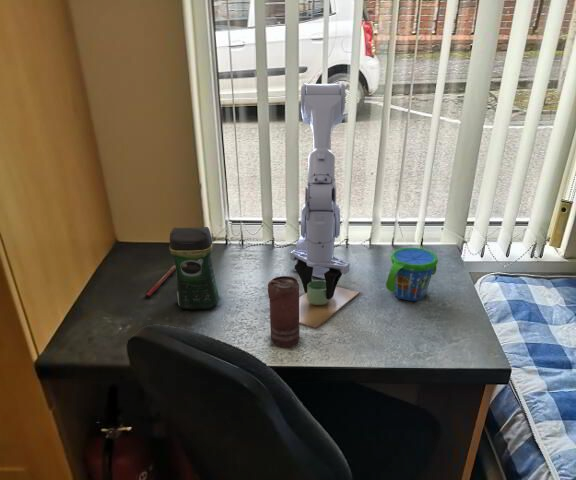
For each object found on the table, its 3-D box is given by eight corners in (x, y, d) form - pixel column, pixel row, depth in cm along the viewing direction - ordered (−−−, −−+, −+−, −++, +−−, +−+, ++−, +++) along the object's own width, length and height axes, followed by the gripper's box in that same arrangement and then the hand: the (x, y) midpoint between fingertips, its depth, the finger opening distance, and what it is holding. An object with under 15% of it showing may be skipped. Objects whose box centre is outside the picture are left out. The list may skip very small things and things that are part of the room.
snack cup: (417, 279, 146) (422, 241, 140) (448, 294, 139) (455, 255, 133) (370, 295, 139) (373, 256, 133) (400, 312, 132) (405, 271, 126)
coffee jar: (220, 295, 140) (213, 221, 129) (217, 311, 134) (209, 234, 123) (181, 296, 140) (170, 222, 129) (175, 311, 134) (164, 235, 123)
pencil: (149, 298, 139) (148, 294, 139) (145, 297, 140) (144, 294, 139) (178, 266, 154) (178, 262, 154) (175, 265, 154) (174, 262, 154)
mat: (275, 315, 132) (275, 314, 131) (320, 283, 145) (320, 281, 145) (316, 328, 126) (316, 327, 126) (358, 293, 140) (359, 292, 140)
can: (268, 334, 125) (266, 275, 117) (297, 332, 125) (297, 274, 117) (270, 349, 120) (268, 289, 112) (300, 347, 120) (300, 287, 112)
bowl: (302, 302, 134) (302, 286, 132) (314, 293, 138) (315, 278, 136) (322, 308, 132) (322, 292, 130) (334, 298, 136) (335, 283, 133)
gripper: (282, 238, 127) (283, 293, 135) (339, 252, 120) (336, 309, 128) (299, 228, 131) (299, 282, 139) (355, 241, 125) (352, 296, 133)
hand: (318, 294), depth 134 cm, fingers closed on bowl, 5 cm apart
